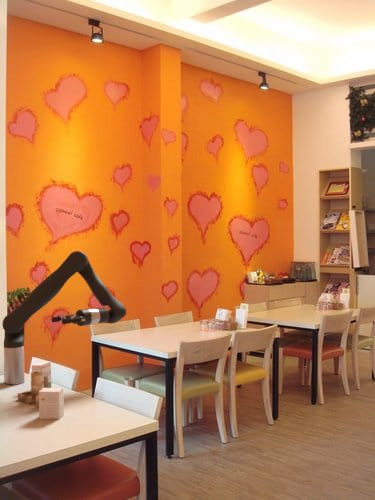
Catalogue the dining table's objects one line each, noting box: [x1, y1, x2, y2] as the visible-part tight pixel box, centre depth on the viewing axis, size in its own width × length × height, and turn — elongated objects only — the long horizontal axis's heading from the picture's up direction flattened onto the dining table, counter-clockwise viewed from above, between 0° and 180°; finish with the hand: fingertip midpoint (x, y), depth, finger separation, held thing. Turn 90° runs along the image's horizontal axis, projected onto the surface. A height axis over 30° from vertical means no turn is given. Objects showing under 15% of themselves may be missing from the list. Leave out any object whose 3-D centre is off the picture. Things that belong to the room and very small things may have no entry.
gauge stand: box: [35, 376, 48, 408], centre depth 229 cm, size 6×6×12 cm
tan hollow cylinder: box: [30, 371, 42, 398], centre depth 239 cm, size 5×5×11 cm
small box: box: [38, 387, 65, 420], centre depth 215 cm, size 8×6×10 cm
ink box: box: [31, 361, 52, 389], centre depth 256 cm, size 9×5×12 cm, turn 160°
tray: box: [17, 390, 36, 406], centre depth 239 cm, size 11×11×2 cm
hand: (57, 320), depth 248 cm, fingers open, 8 cm apart
